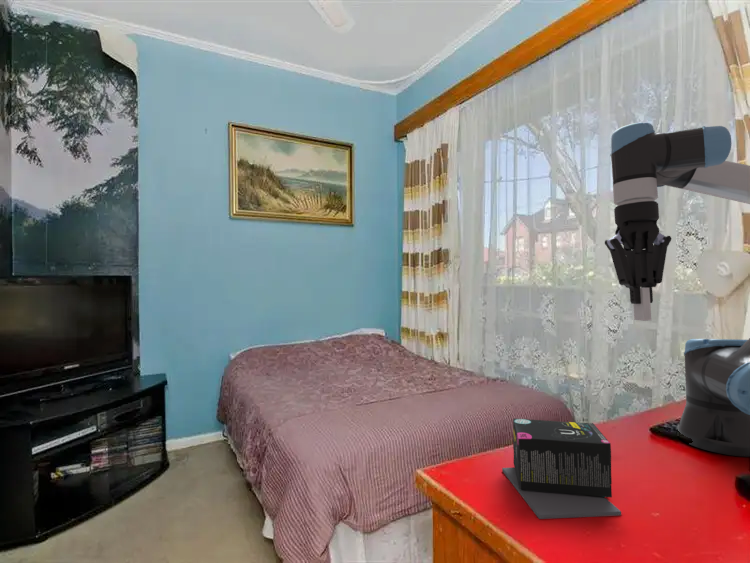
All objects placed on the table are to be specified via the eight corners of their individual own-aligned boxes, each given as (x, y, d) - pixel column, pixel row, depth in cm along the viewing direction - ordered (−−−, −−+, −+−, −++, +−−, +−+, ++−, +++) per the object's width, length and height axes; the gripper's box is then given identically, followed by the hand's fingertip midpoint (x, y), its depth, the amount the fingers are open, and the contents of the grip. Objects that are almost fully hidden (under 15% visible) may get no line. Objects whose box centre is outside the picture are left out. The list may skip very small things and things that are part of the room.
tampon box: (612, 443, 66) (518, 437, 70) (613, 499, 66) (519, 491, 70) (592, 421, 77) (511, 416, 80) (593, 470, 77) (512, 463, 80)
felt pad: (568, 468, 79) (568, 465, 79) (621, 515, 63) (621, 511, 63) (502, 470, 78) (502, 467, 78) (539, 519, 62) (538, 515, 62)
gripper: (651, 206, 86) (658, 316, 86) (593, 208, 85) (600, 320, 85) (680, 198, 79) (688, 319, 79) (617, 200, 78) (625, 323, 77)
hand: (642, 319), depth 82 cm, fingers closed
